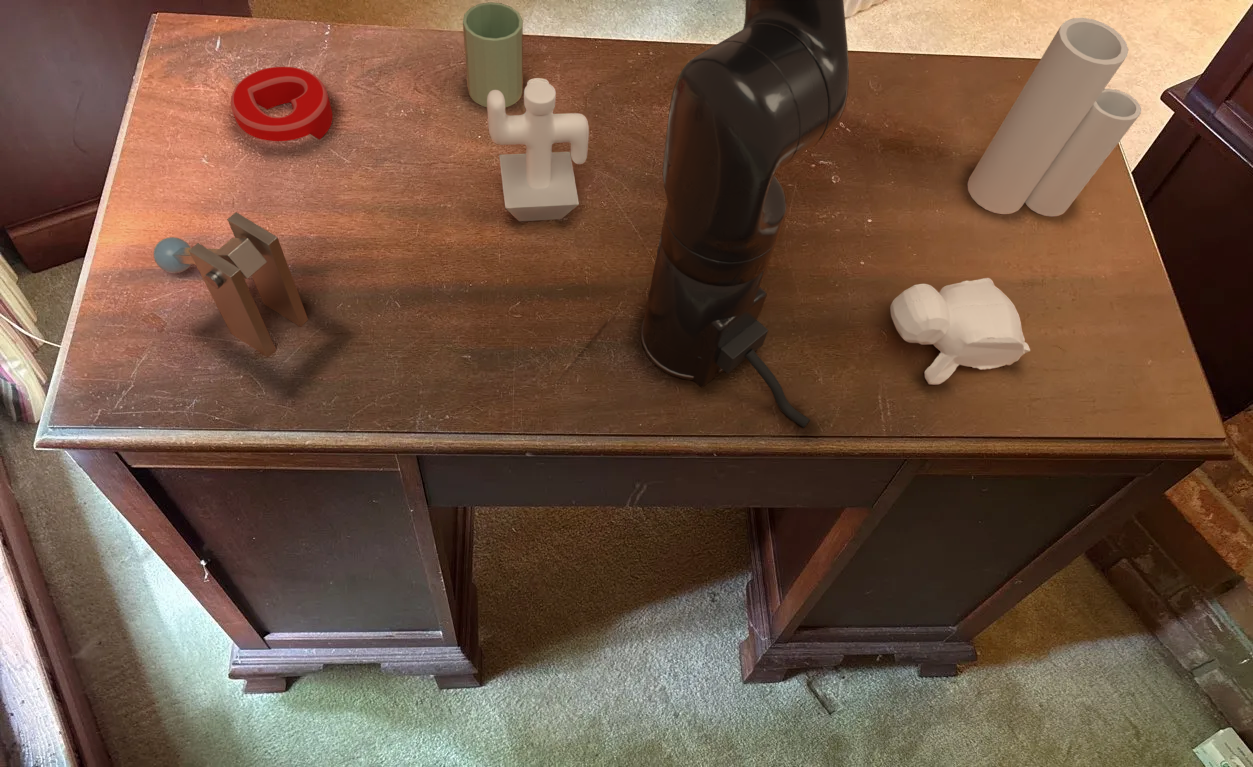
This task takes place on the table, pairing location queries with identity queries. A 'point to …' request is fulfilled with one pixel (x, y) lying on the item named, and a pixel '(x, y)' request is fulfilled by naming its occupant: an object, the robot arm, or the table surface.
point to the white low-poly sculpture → (960, 326)
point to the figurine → (538, 153)
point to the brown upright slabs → (236, 295)
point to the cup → (493, 52)
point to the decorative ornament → (280, 89)
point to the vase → (1058, 124)
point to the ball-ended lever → (236, 251)
